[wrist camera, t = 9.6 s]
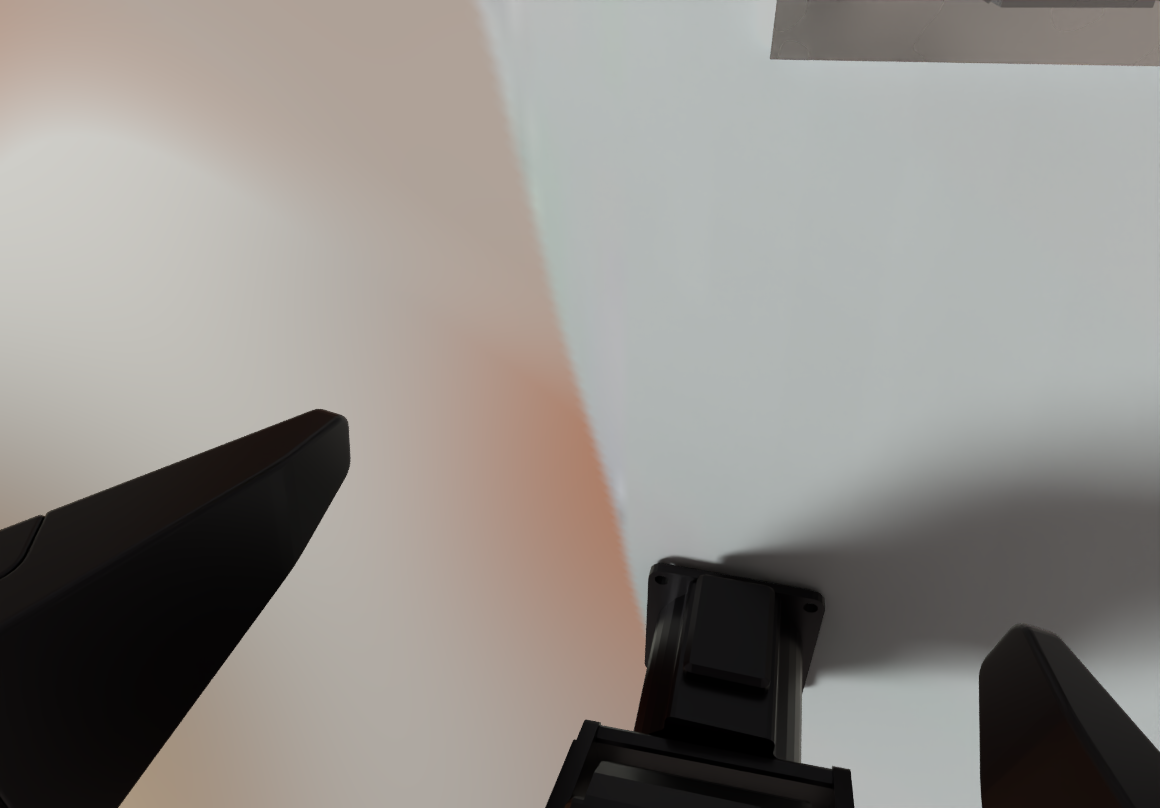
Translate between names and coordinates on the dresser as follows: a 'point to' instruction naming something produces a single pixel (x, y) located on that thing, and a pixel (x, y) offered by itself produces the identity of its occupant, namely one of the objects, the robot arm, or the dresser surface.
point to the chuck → (970, 31)
